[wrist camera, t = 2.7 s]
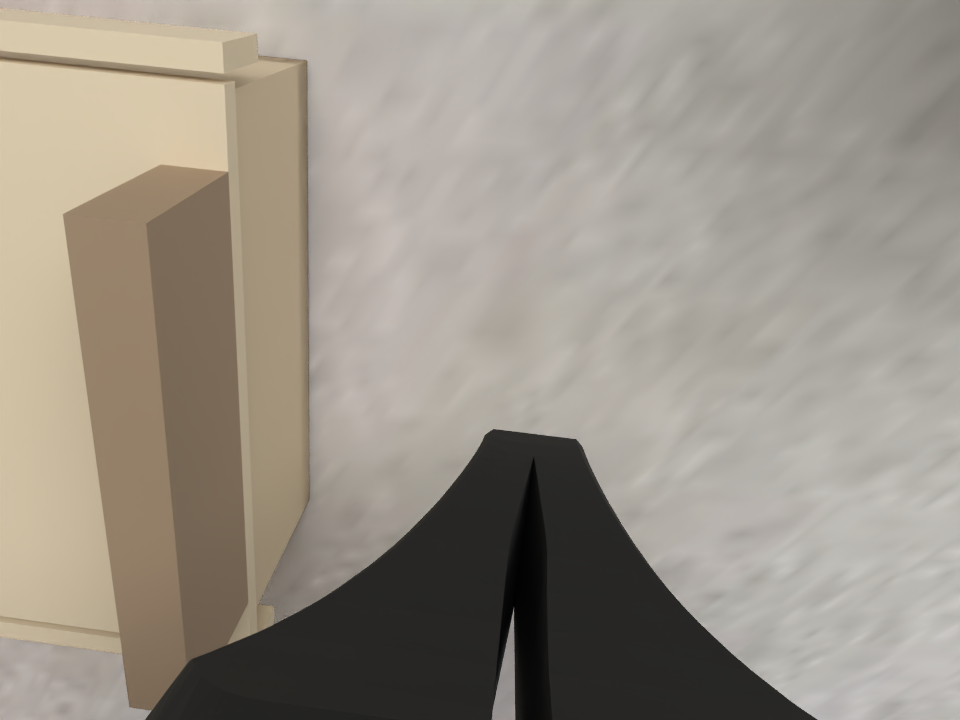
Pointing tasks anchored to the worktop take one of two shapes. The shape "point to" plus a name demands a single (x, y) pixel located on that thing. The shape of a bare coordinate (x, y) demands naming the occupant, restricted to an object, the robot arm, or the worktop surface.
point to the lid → (123, 346)
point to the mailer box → (268, 286)
